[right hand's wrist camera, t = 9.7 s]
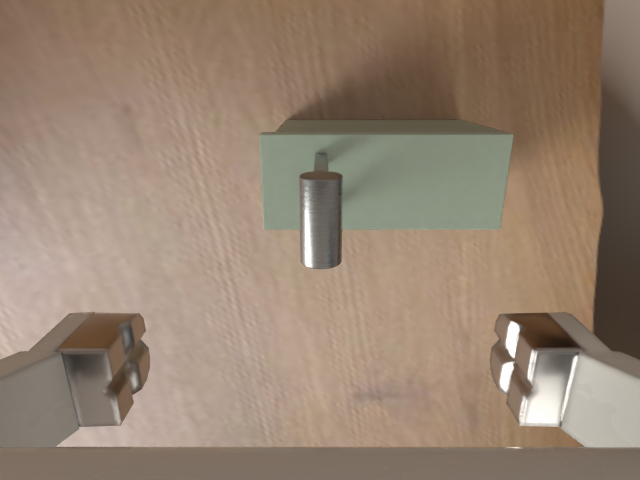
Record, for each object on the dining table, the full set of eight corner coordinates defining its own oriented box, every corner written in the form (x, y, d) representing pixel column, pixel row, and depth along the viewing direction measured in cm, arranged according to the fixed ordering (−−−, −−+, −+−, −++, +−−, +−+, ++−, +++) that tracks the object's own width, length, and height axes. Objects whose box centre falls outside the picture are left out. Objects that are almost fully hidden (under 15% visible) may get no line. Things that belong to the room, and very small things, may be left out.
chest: (287, 191, 36) (277, 223, 27) (285, 119, 34) (274, 132, 26) (453, 191, 36) (492, 223, 27) (461, 119, 34) (506, 132, 25)
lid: (265, 224, 27) (241, 287, 19) (261, 132, 25) (232, 157, 17) (493, 224, 27) (570, 287, 19) (506, 132, 25) (598, 157, 17)
